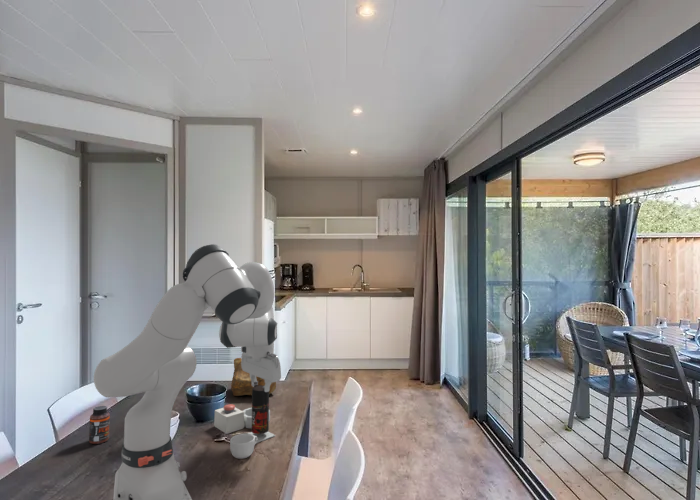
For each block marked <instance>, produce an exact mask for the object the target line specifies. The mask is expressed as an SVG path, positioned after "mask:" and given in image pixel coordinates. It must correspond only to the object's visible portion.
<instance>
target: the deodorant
mask: <svg viewBox="0 0 700 500" xmlns="http://www.w3.org/2000/svg"><path fill="white" fill-rule="evenodd" d="M263 386H264V385H261V386H255V387H253V388H252V395H251V408H252V428H251V432H252V433H254V434H264V433H266V432H269V430H270V428H269V427H270V425H269V424H270V421H269V410H270V394H269V392H264V391H263Z"/></svg>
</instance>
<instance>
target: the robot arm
mask: <svg viewBox="0 0 700 500" xmlns="http://www.w3.org/2000/svg"><path fill="white" fill-rule="evenodd" d="M182 280H183V281H184V282H181V283H177V284H175V285H173V286H172V287H170V288H169V289H168V290H167V291H166V293H165V294H164V295H163V296H162V297H161V299H160V300H159V302H157V305H156V306H155V308H154V309H153V312H152V313H151V316H150V318H149V319H148V320H147V323H146V325H145V327H144V328H143V330H142V331H141V332H140V333H139V334H138V336H136V337H135V338H134V339H133V340H132V341H131V342H129V343H128V344H127V345H126V346H124V347H123V348H121V349H120V350H118V351H117V352H114V353H113V354H111V355H109V356H107V357H105V358H103V359H102V360H101V361H99V363H98V364H97V366H96V368H95V370H94V373H93V384H94V387H95V389H96V390H97V392H98V393H99V395H101V396H103V397H105V398H123V397H129V396H133V395H138V394H141V393H142V394H143V393H144V394H143V396H142V397H141V399H140V400H139V401H138V402H137V403H136V404H134V405H133V406H132V407H130V408H129V410H128V411H127V413H126V415H125V418H124V428H123V429H124V431H123V433H124V434H123V438H124V439H123V444H122V447H121V452H120V454H121V461H122V462H121V464H120V466H119V468H118V469H117V470H116V472H115V475H114V487H113V499H112V500H193V499H192V496H191V494H190V493H189V491H188V489H187V487H186V485H185V481H186V480H187V477H188V476H187V471H185V470H183V471H180V465H181V464H180V463H181V462H180V461H176V458H175V454H174V449H173V448H174V445H173V441H172V437H171V422H172V421H171V420H172V412H173V407H174V403H175V402H176V399H177V397H178V395H179V393H180V391H181V390H182V388H183V387H184V385H185V384H186V382H188V380H190V379H191V378H192V377H193V375H194V373H195V371H196V369H197V356H196V354H195V352H194V350H193V349H192V348H191V347H190V346H189V343H190V342H191V339H192V338H193V336H194V334H195V333H196V331H197V330H198V329H197V328H198V327H199V325H200V323H201V320H202V319H203V315H204V312H205V311H206V310H207V309H209V308H210V309H212V310H213V311H214V314H215V316H216V317H217V318H218V319H219V321H221V323H220V327H219V331H218V336H219V337H218V338H219V341H220V343H221V345H223V346H224V347H225V348H228V349H229V348H238V347H239V348H240V347H241V348H240V351H241V357H240V358H241V366H242V370H243V371H245V372H247V373H250V378H251V381H252V386H253V387H255V386H258V381H257V379H256V376H257V377H260V378H262V379H264V380H265V386H263V391H264V392H269V390H270V385H271V383H272V382H276V383H277V382H280V380H281V379H282V372H281V371H282V368H281V362H280V359H279V358H278V355H277V354H276V353H274V351H275V349H274V347H275V341H276V340H277V338H278V322H276V320H275V315H274V307H273V306H274V302H275V286H274V281H273V278H272V275H271V272H270V270H269V269H268V268H267V267H266V266H265V265H264V264H262V263H260V262H256V261H249V262H247V263H243V264H242V265H241V266H239V265H237V263H236V262H235V261H234V260H233V258H231V257H230V255H229V253H228V252H227V251H226V250H225V249H224V248H223V247H221V246H220V245H218V244H215V243H213V244H206V245H203V246H201V247H198V248H197V249H196V250H195V251H194V252H192V254H191V255H190V256H189V259H188V260H187V262H186V265H185V268H184V269H183V270H182Z"/></svg>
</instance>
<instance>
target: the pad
mask: <svg viewBox="0 0 700 500" xmlns="http://www.w3.org/2000/svg"><path fill="white" fill-rule="evenodd" d="M248 434H252V435H254V436H257V437H258V441H257V443H256V444H258V443H261V442H264V441H267V440H269V439H271V438H275V437H276V434H274V433H272V432H270V431H268V432H266V433H264V434H254V433H252V431H251V432H248ZM255 442H256V438H255Z"/></svg>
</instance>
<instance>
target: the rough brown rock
mask: <svg viewBox="0 0 700 500" xmlns="http://www.w3.org/2000/svg"><path fill="white" fill-rule="evenodd" d="M233 368H234V369H233V375H232V380H231V384H230V388H231V389H230V390H231V391H232V396H234V397H241V396H246V395H247V396H252V388H253V386H252V381H251V378H250V373H247V372H245V371H243V370H242V366H241V357H237V358H234V359H233ZM256 379H257V381H258V386H261V385H264V386H265V380H264V379H262V378H260V377H257V376H256ZM276 389H277V382H272V383H271V385H270V390H269V395H271V394H272V393H274V392H275V390H276Z"/></svg>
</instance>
